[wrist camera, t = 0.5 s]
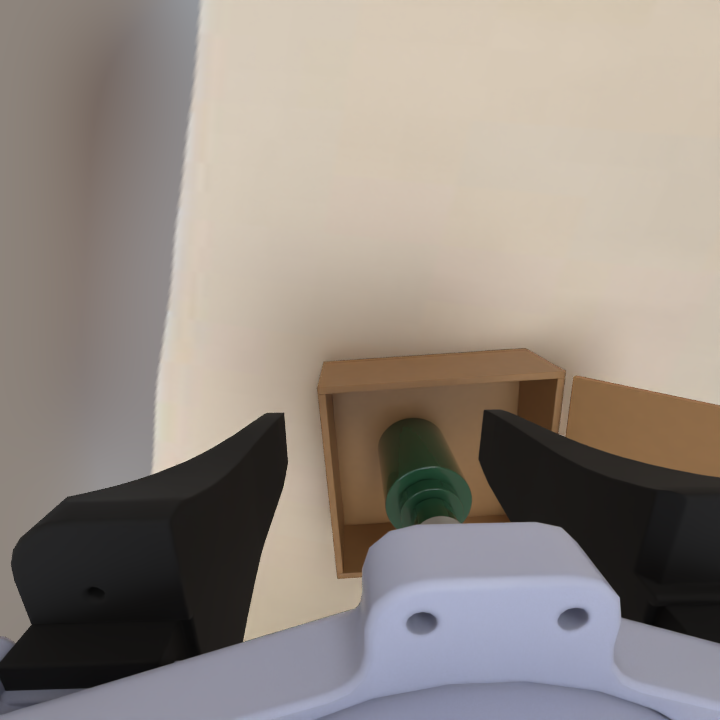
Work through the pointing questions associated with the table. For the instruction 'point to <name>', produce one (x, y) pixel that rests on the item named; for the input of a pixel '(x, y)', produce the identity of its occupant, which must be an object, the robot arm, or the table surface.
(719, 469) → the flap
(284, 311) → the table surface
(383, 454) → the bottle
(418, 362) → the carton
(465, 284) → the table surface
